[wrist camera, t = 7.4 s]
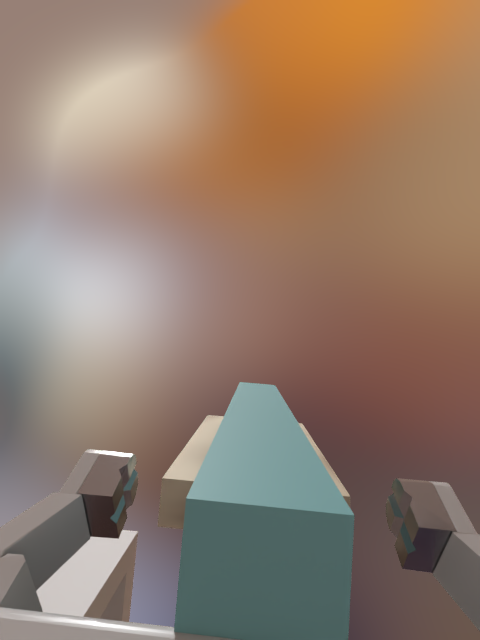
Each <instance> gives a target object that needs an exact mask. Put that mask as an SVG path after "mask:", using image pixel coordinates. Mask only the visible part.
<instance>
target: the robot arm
mask: <svg viewBox="0 0 480 640" xmlns="http://www.w3.org/2000/svg"><path fill="white" fill-rule="evenodd" d="M135 465H136V456H135V455H134V454H128V453H118V452H111V451H101V450H92V449H88V450H86V451H85V452H84V453H83V455H82V456H81V458H80V460H79V461H78V463H77V464H76V466H75V467H74V469H73V471H72V472H71V474H70V476H69V477H68V479H67V480H66V482H65V484H64V485H63V487H62V488H61V490H60V491H59V492H53V493H52V494H50V495H49V496H47V497H46V498H45V499H43V500H41V501H40V502H38V503H37V504H35V505H34V506H32V507H31V508H29V509H28V510H26V511H25V512H23V513H22V514H20V515H19V516H17V517H16V518H14V519H13V520H11V521H10V522H8V523H6V524H5V525H4V526H2V527H0V640H239V639H230V638H222V637H213V636H205V635H196V634H188V633H179V632H174V627H167V626H159V625H150V624H141V623H133V622H124V621H116V620H107V619H98V618H90V617H81V616H73V615H64V614H55V613H47V612H43V610H42V606H41V603H40V601H39V598H38V595H37V592H36V591H37V590H38V589H39V588H40V587H41V586H42V585H43V584H44V583H45V582H46V581H47V580H48V579H49V578H50V577H51V576H52V575H53V574H54V573H55V572H56V571H57V570H58V569H59V568H60V567H62V566H63V565H64V564H65V563H66V562H67V561H68V560H69V559H70V558H71V557H72V556H73V555H74V554H75V553H76V552H77V551H78V550H79V549H80V548H81V547H82V546H83V545H84V544H85V543H86V542H87V541H88V540H90V537H102V538H116V539H119V537H120V534H121V532H122V529H123V526H124V524H125V522H126V519H127V514H126V509H127V508H128V507H129V506H131V505H132V503H133V501H134V498H135V495H136V491H137V486H138V473H137V472H136V471H135V470H134V467H135ZM392 490H393V492H394V493H393V494H392V495H390V496H389V497H388V500H387V503H386V517H387V523H388V526H389V529H390V531H391V532H392V533H393V534H394V535H395V536H396V537H397V540H396V543H395V548H396V551H397V554H398V557H399V560H400V563H401V566H402V568H403V569H409V570H416V571H424V572H431V573H433V576H434V577H435V578H436V579H437V580H438V581H439V583H440V584H441V585H442V586H443V588H444V589H445V590H446V591H447V592H448V594H449V595H450V596H451V597H452V598H453V600H454V601H455V602H456V603H457V604H458V605H459V607H460V608H461V609H462V610H463V612H464V613H465V614H466V615H467V616H468V618H469V619H470V620H471V621H472V622H473V624H474V625H475V626H476V627H477V628H478V630H479V631H480V534H477V532H476V531H475V529H474V528H473V525H472V523H471V522H470V520H469V518H468V516H467V514H466V513H465V511H464V509H463V508H462V506H461V504H460V502H459V500H458V498H457V497H456V495H455V493H454V491H453V490H452V488H451V486H450V485H449V484H448V483H442V482H431V481H430V482H429V481H421V480H409V479H397V478H396V479H395V480H394V481H393V484H392Z"/></svg>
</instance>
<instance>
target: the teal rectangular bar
mask: <svg viewBox="0 0 480 640" xmlns="http://www.w3.org/2000/svg"><path fill="white" fill-rule="evenodd" d="M353 532H354V514H353V512H352V511H351V509H350V507H349V506H348V504H347V502H346V501H345V499H344V498H343V496H342V494H341V493H340V491H339V489H338V488H337V486H336V484H335V483H334V481H333V479H332V478H331V476H330V475H329V473H328V471H327V470H326V468H325V466H324V465H323V463H322V461H321V460H320V458H319V457H318V455H317V453H316V452H315V450H314V448H313V447H312V445H311V443H310V442H309V440H308V438H307V437H306V435H305V434H304V432H303V430H302V429H301V427H300V425H299V424H298V422H297V420H296V419H295V417H294V416H293V414H292V412H291V411H290V409H289V407H288V406H287V404H286V402H285V401H284V399H283V397H282V396H281V395H280V393H279V391H278V389H277V388H276V386H275V385H266V384H254V383H243V382H240V383H239V385H238V388H237V390H236V392H235V394H234V396H233V398H232V400H231V403H230V405H229V407H228V409H227V411H226V413H225V415H224V418H223V420H222V422H221V424H220V426H219V428H218V431H217V433H216V435H215V437H214V439H213V441H212V443H211V446H210V448H209V450H208V452H207V454H206V456H205V459H204V461H203V463H202V465H201V467H200V469H199V471H198V474H197V476H196V478H195V480H194V482H193V484H192V486H191V489H190V491H189V493H188V495H187V497H186V504H185V515H184V526H183V537H182V549H181V560H180V571H179V582H178V594H177V604H176V615H175V627H174V632H179V633H188V634H196V635H205V636H213V637H222V638H230V639H239V640H348V631H349V610H350V592H351V572H352V552H353Z"/></svg>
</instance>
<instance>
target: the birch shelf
mask: <svg viewBox="0 0 480 640" xmlns="http://www.w3.org/2000/svg"><path fill="white" fill-rule="evenodd" d="M223 418H224V417H222V416H211V415H208V416H207V417H206V419H205V420H204V421H203V423H202V424H201V425H200V427H199V428H198V430H197V431H196V432H195V434H194V435H193V437H192V438H191V439H190V441H189V442H188V443H187V445H186V446H185V447H184V449H183V450H182V452H181V453H180V454H179V456H178V457H177V458H176V460H175V461H174V463H173V464H172V465H171V467H170V469H169V470H168V471H167V472H166V474H165V475H164V476H163V478H162V487H161V497H160V508H159V518H158V527H167V528H176V529H183V526H184V515H185V504H186V497H187V495H188V493H189V491H190V489H191V486H192V484H193V482H194V480H195V478H196V476H197V474H198V471H199V469H200V467H201V465H202V463H203V461H204V459H205V456H206V454H207V452H208V450H209V448H210V446H211V443H212V441H213V439H214V437H215V435H216V433H217V431H218V428H219V426H220V424H221V422H222V420H223ZM298 424H299V423H298ZM299 425H300V427H301V429H302V430H303V432H304V434H305V435H306V437H307V438H308V440H309V442H310V443H311V445H312V447H313V448H314V450H315V452H316V453H317V455H318V457H319V458H320V460H321V461H322V463H323V465H324V466H325V468H326V470H327V471H328V473H329V475H330V476H331V478H332V479H333V481H334V483H335V484H336V486H337V488H338V489H339V491H340V493H341V494H342V496H343V498H344V499H345V501H346V502H347V504H348V506H349V507H350V495H349V494H348V492H347V491H346V489H345V488H344V486H343V485H342V484H341V482H340V480H339V479H338V477H337V476H336V474H335V473H334V471H333V470H332V468H331V467H330V465H329V464H328V462H327V460H326V459H325V457H324V456H323V454H322V453H321V452H320V450H319V448H318V447H317V445H316V444H315V442H314V441H313V439H312V438H311V436H310V435H309V433H308V432H307V430H306V429H305V427H304V426H303V424H299Z"/></svg>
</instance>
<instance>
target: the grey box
mask: <svg viewBox="0 0 480 640" xmlns="http://www.w3.org/2000/svg"><path fill="white" fill-rule="evenodd" d="M137 537H138V531H128V530H122V532H121V534H120V537H119V539H116V538H102V537H90V540H88V541H87V542H86V543H85V544H84V545H83V546H82V547H81V548H80V549H79V550H78V551H77V552H76V553H75V554H74V555H73V556H72V557H71V558H70V559H69V560H68V561H67V562H66V563H65V564H64V565H63V566H62V567H60V568H59V569H58V570H57V571H56V572H55V573H54V574H53V575H52V576H51V577H50V578H49V579H48V580H47V581H46V582H45V583H44V584H43V585H42V586H41V587H40V588H39V589H38V590H37V591H36V592H37V595H38V598H39V601H40V603H41V606H42V610H43V612H47V613H55V614H64V615H73V616H81V617H90V618H98V619H107V620H116V621H124V622H129V616H130V606H131V596H132V587H133V577H134V566H135V556H136V547H137Z"/></svg>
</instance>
